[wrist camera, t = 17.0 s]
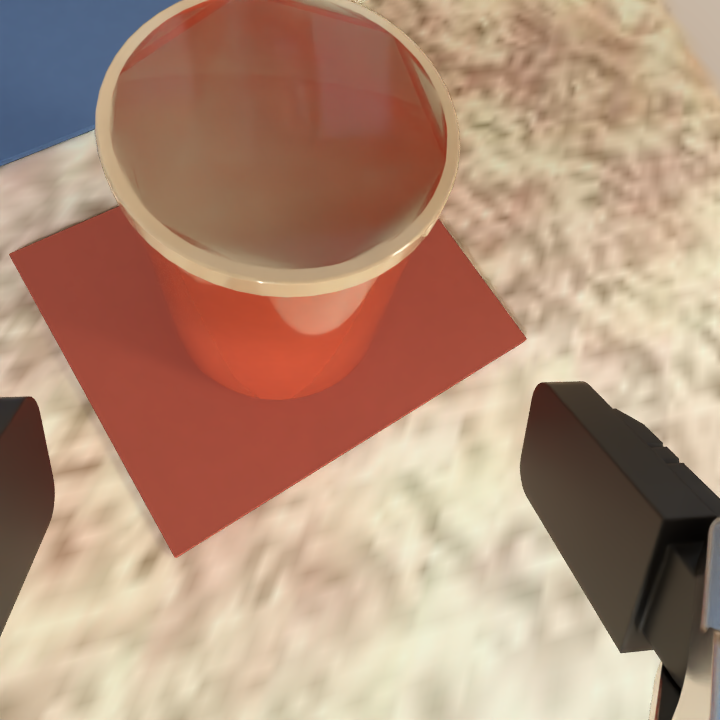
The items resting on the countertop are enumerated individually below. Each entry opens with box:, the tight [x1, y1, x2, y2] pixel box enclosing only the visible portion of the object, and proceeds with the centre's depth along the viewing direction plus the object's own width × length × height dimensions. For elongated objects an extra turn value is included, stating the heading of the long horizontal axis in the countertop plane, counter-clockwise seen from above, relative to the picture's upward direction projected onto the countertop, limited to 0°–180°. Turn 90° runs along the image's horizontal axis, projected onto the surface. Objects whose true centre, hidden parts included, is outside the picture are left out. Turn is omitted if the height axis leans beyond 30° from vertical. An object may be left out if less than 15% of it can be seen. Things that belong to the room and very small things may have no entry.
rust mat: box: [9, 206, 526, 558], centre depth 19 cm, size 12×10×1 cm
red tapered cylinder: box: [95, 0, 460, 400], centre depth 15 cm, size 7×7×8 cm
